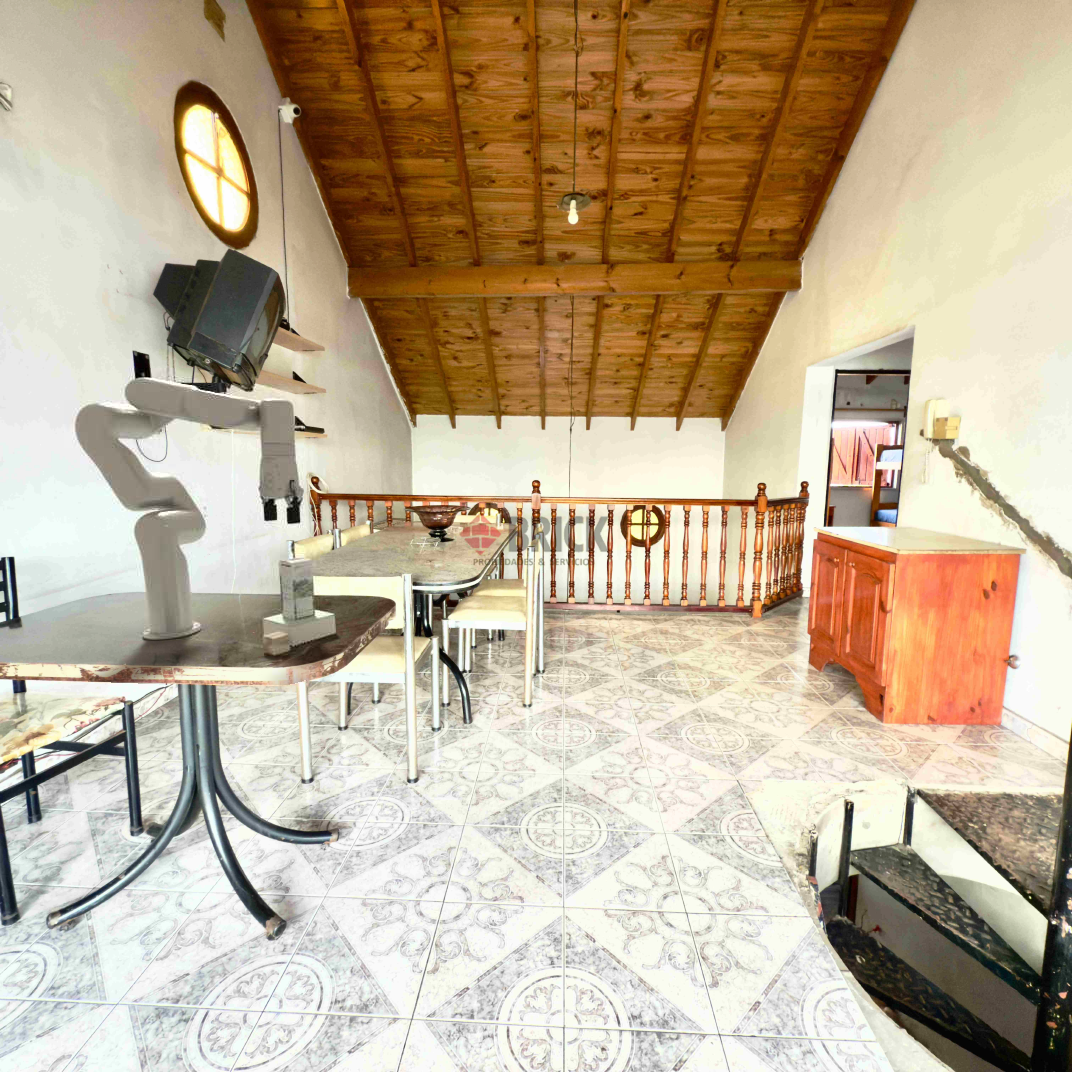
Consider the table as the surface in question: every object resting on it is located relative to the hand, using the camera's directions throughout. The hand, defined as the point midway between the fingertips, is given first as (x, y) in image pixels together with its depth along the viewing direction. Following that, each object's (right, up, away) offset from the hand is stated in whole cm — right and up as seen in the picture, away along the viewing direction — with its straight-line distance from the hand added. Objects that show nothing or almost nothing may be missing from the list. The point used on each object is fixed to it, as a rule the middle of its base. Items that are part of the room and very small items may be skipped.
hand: (282, 522), depth 139 cm
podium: (+3, -29, +3) cm, 29 cm away
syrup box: (+3, -24, +2) cm, 24 cm away
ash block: (+3, -30, -8) cm, 31 cm away
